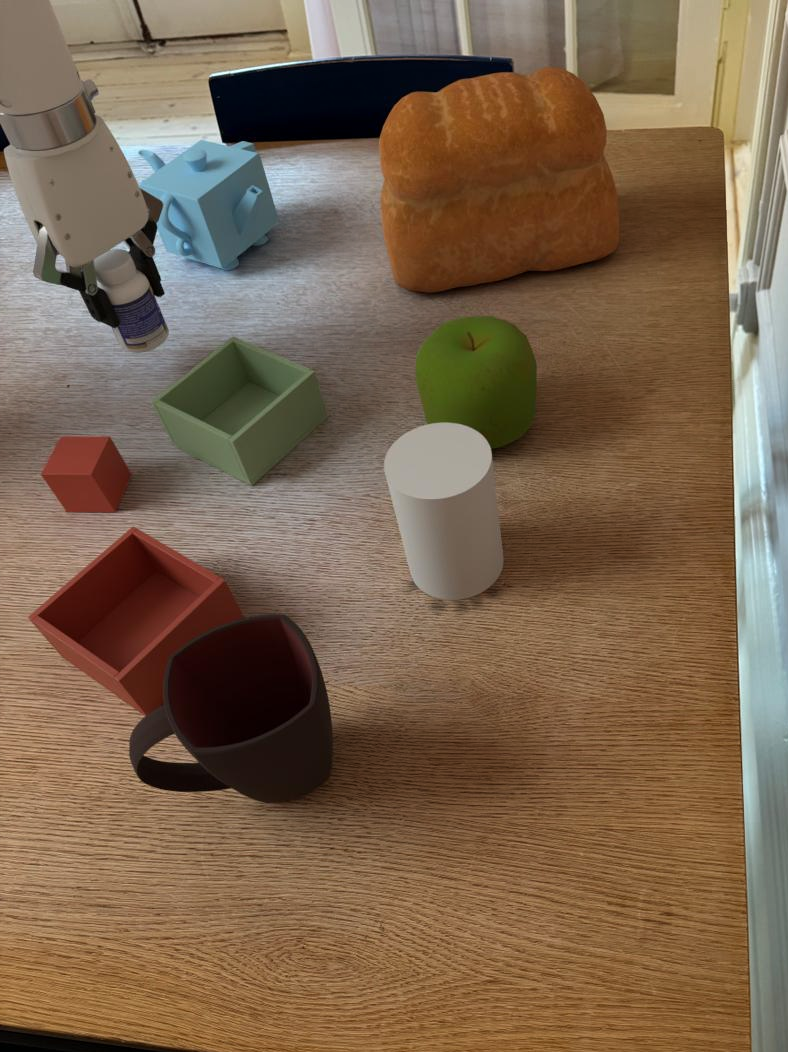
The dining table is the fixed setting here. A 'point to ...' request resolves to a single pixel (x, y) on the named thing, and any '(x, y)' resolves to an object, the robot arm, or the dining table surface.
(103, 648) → the brick bin
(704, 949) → the dining table surface
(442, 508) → the white solid cylinder
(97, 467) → the red block
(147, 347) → the pill bottle
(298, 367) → the sage bin
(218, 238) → the teapot
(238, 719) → the mug
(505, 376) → the apple
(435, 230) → the bread
